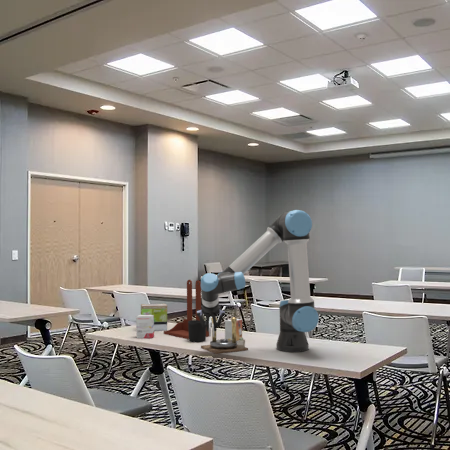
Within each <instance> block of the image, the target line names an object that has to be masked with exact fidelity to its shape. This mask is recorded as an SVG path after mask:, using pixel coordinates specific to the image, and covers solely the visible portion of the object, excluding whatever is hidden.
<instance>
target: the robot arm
mask: <svg viewBox="0 0 450 450" xmlns="http://www.w3.org/2000/svg"><path fill="white" fill-rule="evenodd" d="M312 228H313V220H312V218H311V216H310V215H309V213H307V212H306V211H304V210H299V209H294V210H290V211H289V210H288V211H285V212H283V213H281V214H279V216H277V218H276V219H275V220H274V221H273V222H272V223H271V224H270V225H269V226H267V228H266V231H265V232H264V233H263V234H262V235H261V236H260V237H259V238H258V239H256V241H254V242H253V243H252V244H251V245H250V246H249V247H248V248H247V249H245V250H244V252H243V253H241V255H239V256H238V257H236V259H235V260H233V262H231V263H230V265H229V266H228V267H226V268H225V269H224V270H222V271H220V272H219V273H218V274H217V275H216V274H215V273H210V272H207V273H205V274H204V275H202V277H201V278H200V282H201V310H197V316H198V317H199V319H200V321H201V324H202V326H203V327H206V330H207V331H209V337H208V338H212V334H213V337H214V331H216V332H217V327H218V328H220V327H221V324H222V321H223V317H225V315H226V309H222V310H221V309H220V305H219V304H220V302H219V300H220V299H219V297H220V294H224V293H229V292H234V291H239V290H241V289H245V287H246V279H245V278H246V277H245V274H246V273H247V272H248V271H249V270H250V269H252V267H254V266H255V265H256V264H257V263H258V262H259V261H260V260H261V259H262V258H263V257H265V255H267V253H268V252H270V251H271V250H272V249H273V248H274V247H275V246H276V245H277V244H281V243H283V242H284V243H285V244H286V245H287V256H288V257H287V259H288V273H289V288H290V298H289V300H288V299H285V300H280V301H279V306H278V307H279V308H278V309H279V334H278V338H277V340H276V341H277V342H276V347H275V348H276V350H278V351H280V352H291V353H294V352H295V353H296V352H305V351H308V350H309V348H310V345H309V340H308V338H307V336H306V333H309V332H311V331H313V330H315V328H316V327H317V326H318V324H319V319H320V316H319V313H318V311H317V310H316V307H315V300H314V298H313V297H311V288H310V273H309V271H310V270H309V261H308V260H309V259H308V247H307V246H308V245H307V244H308V243H309V241H310V232H311V230H312ZM218 314H219V316H218V318H217V321H216V317H217V315H218ZM203 315H204V316H205V318H204V316H203ZM210 317H211V318H213V324H212V322H211V323H210ZM205 321H206V322H205Z"/></svg>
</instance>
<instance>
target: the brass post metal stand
mask: <svg viewBox="0 0 450 450" xmlns="http://www.w3.org/2000/svg"><path fill="white" fill-rule="evenodd" d="M237 319H238V318H237V317H235V316H233V317H231V319H230V320H231V322H232V340H231V338H229V339H225V338H221V339H217V330H216V331H214V337H213V334H212V333H211V340H210V343H209V345H210V346H211V347H213V348H234V347H237V346H238V341H236V322H237ZM210 320H211V325H212V324H213V318H212V317H211V318H210ZM216 322H218V318H217V316H216Z"/></svg>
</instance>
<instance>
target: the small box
mask: <svg viewBox="0 0 450 450" xmlns="http://www.w3.org/2000/svg"><path fill="white" fill-rule="evenodd" d="M236 319H237V322H236V341H237V342H238V340H239V338H241V337H242V338H243V319H241V318H236ZM229 338H231V340H232V322H231V319H225V320H224V339H229Z"/></svg>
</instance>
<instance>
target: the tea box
mask: <svg viewBox="0 0 450 450" xmlns="http://www.w3.org/2000/svg"><path fill="white" fill-rule="evenodd" d="M140 315H154V332H155V331H157V332H159V331H161V332H162V331H163V332H164V331H168V304H166V303H141V304H140Z"/></svg>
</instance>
